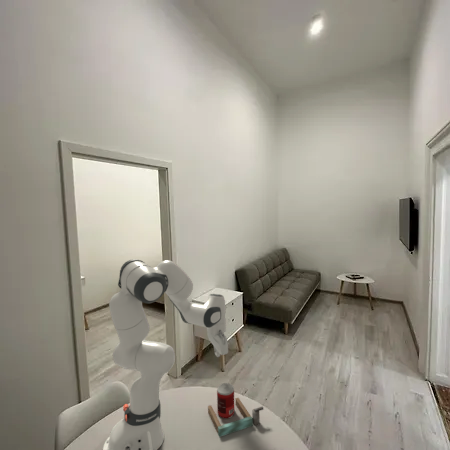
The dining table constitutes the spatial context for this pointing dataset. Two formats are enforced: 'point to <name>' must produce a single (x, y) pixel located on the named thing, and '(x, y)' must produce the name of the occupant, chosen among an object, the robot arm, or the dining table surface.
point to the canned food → (225, 400)
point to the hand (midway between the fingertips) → (217, 355)
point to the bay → (238, 424)
